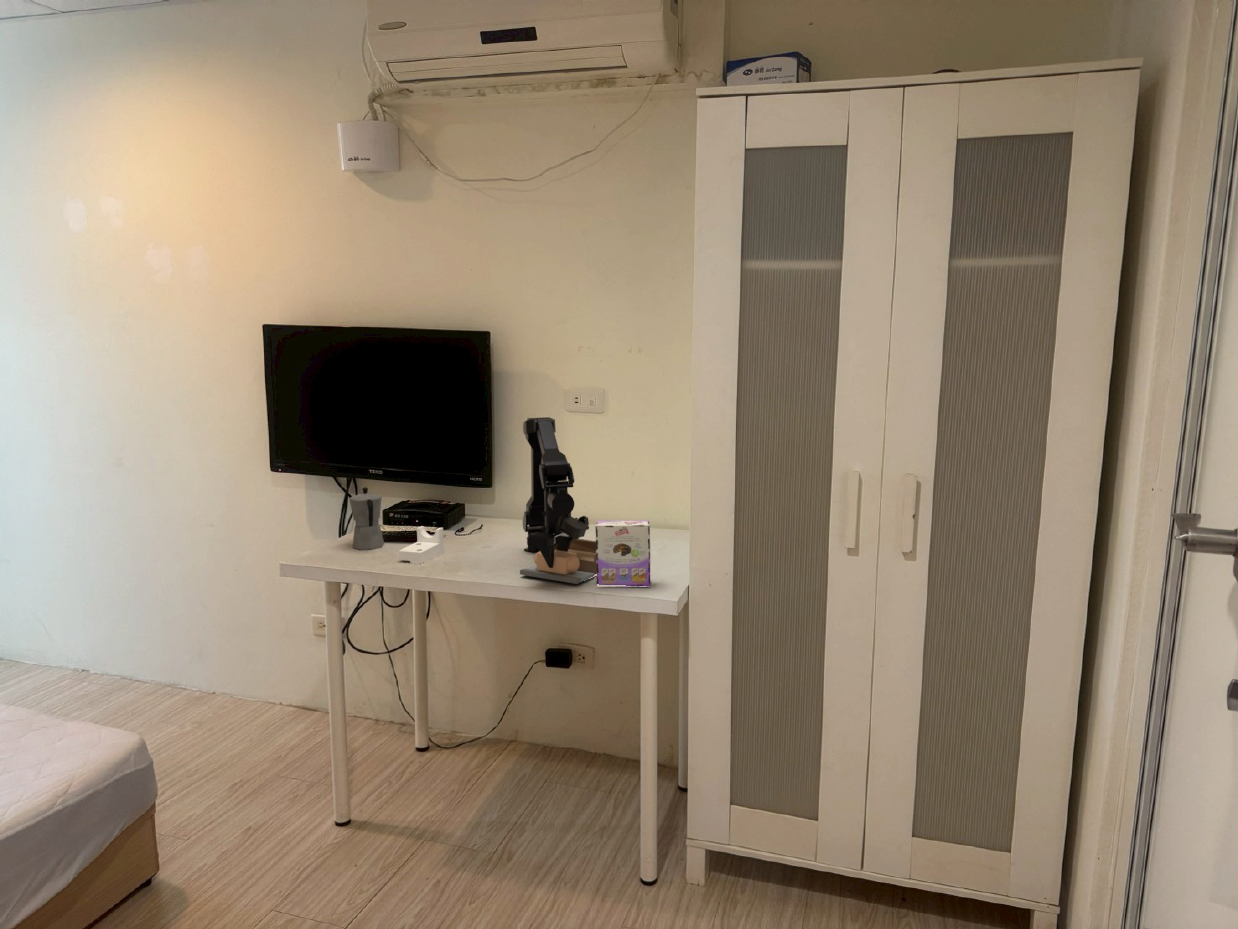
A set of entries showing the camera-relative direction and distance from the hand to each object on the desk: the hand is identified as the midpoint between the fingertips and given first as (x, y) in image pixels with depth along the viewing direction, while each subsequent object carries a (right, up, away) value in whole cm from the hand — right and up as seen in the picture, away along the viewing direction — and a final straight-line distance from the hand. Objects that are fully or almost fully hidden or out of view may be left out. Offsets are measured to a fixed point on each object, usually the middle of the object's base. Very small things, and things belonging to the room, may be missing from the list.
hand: (556, 565), depth 230 cm
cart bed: (+5, -2, +9) cm, 11 cm away
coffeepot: (-59, +1, +33) cm, 67 cm away
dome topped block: (0, -1, 0) cm, 1 cm away
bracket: (-40, -1, +22) cm, 46 cm away
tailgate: (+2, -3, +4) cm, 6 cm away
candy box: (+17, -5, -5) cm, 19 cm away
